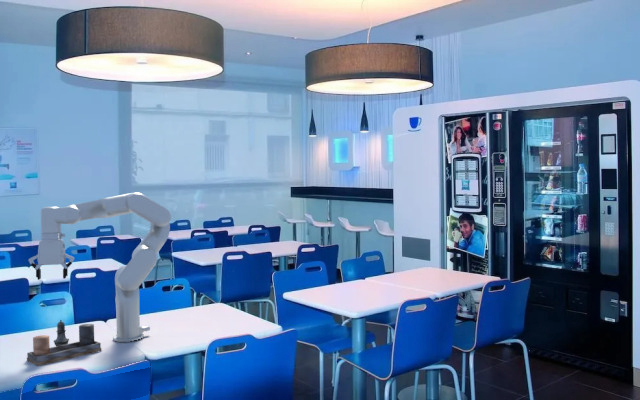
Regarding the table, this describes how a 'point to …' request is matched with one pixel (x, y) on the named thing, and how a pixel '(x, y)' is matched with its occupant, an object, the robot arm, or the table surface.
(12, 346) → the table surface
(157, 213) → the robot arm
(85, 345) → the condiment rail
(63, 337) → the salt shaker
